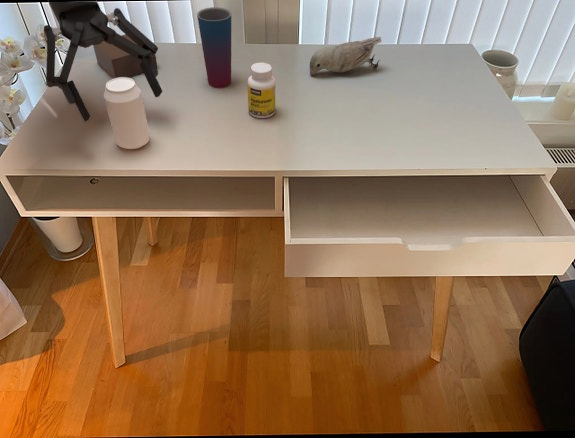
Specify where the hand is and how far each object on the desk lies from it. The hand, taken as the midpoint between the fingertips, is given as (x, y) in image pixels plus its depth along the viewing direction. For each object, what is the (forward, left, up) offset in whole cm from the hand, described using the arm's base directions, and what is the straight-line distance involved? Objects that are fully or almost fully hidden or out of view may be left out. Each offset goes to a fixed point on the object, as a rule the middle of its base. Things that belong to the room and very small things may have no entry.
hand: (124, 106), depth 91 cm
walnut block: (+7, +29, -7) cm, 31 cm away
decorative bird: (+50, +5, -7) cm, 51 cm away
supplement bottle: (+26, -2, -7) cm, 27 cm away
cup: (+23, +13, -7) cm, 28 cm away
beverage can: (0, -1, -7) cm, 7 cm away
